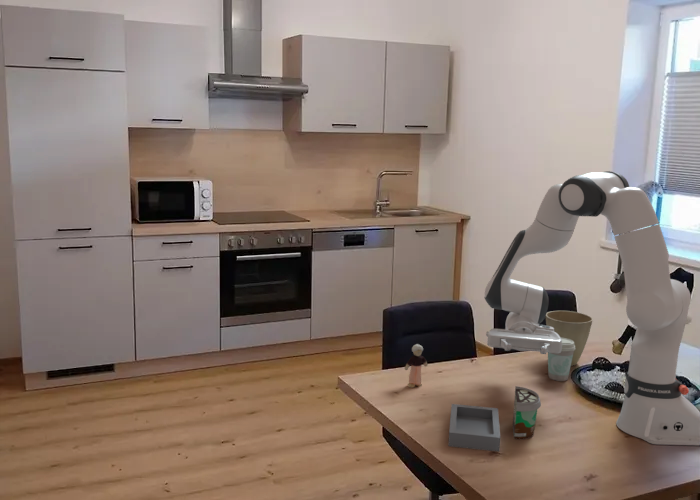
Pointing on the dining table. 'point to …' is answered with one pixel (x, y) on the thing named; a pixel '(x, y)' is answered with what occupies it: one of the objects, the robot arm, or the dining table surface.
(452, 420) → the tray
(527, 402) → the food container
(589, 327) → the plant pot
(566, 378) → the coffee cup
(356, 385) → the dining table surface
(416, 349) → the grandmother figurine
